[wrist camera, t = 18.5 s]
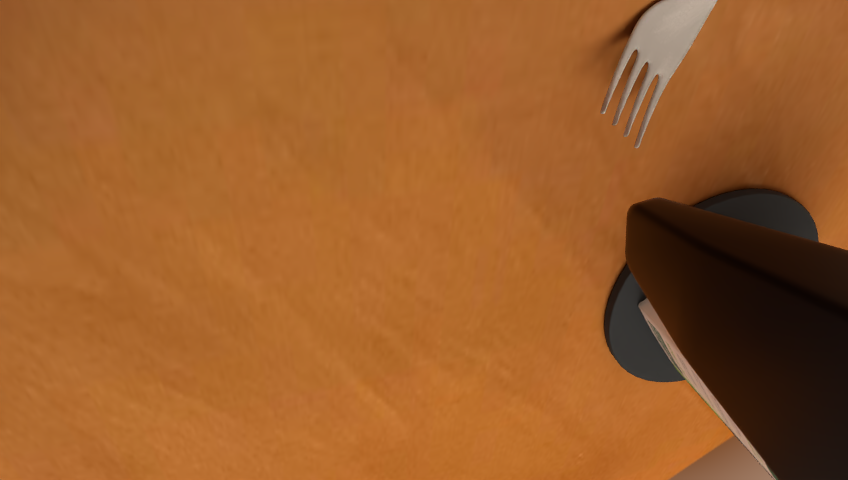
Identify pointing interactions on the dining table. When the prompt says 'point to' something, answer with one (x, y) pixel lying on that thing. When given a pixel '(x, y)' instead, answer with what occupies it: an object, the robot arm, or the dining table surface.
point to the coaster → (623, 315)
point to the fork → (657, 52)
